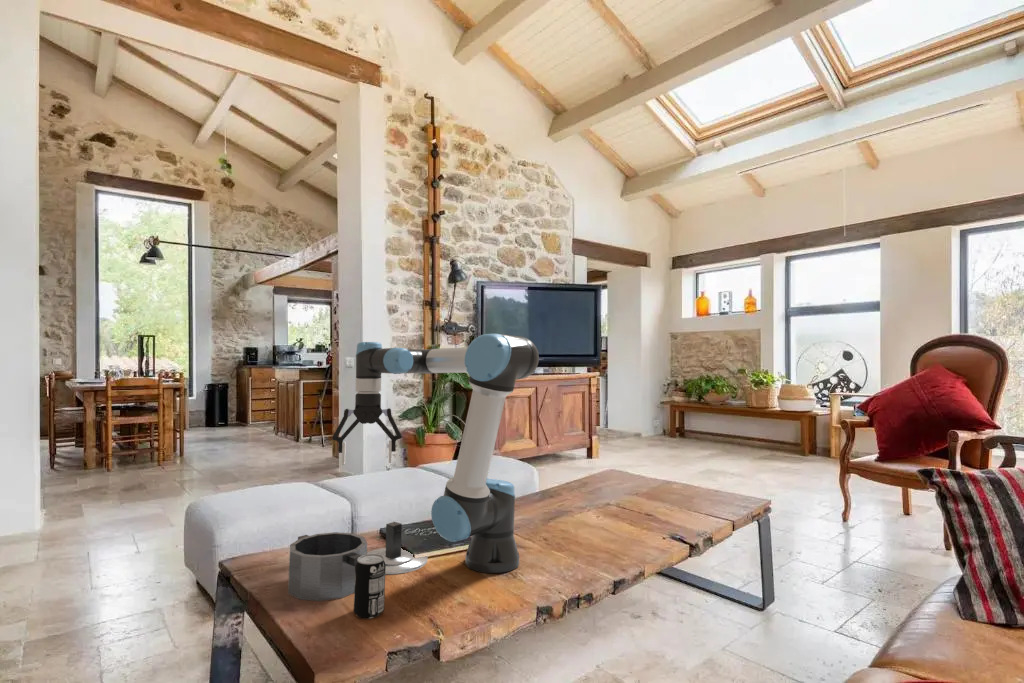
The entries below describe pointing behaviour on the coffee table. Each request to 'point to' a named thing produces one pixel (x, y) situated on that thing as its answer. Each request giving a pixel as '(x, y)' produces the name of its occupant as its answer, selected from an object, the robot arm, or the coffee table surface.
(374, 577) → the beverage can
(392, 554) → the lid
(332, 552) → the pot
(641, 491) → the coffee table surface
